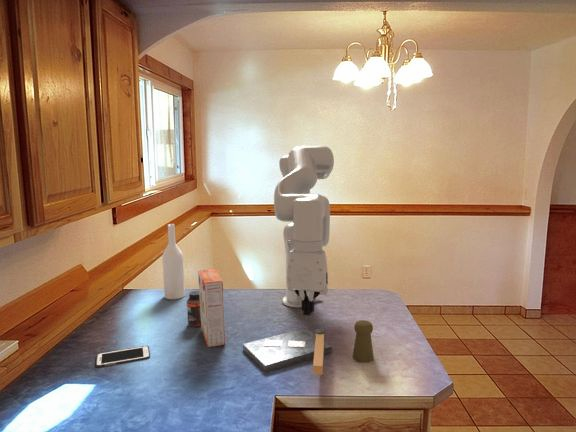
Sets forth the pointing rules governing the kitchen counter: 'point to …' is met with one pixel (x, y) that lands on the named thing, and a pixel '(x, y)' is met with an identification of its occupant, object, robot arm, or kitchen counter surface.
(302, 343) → the plate
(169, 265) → the bottle
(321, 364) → the wooden bar
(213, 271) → the cracker box
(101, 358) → the cell phone
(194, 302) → the supplement bottle
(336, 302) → the kitchen counter surface
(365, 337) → the cork
